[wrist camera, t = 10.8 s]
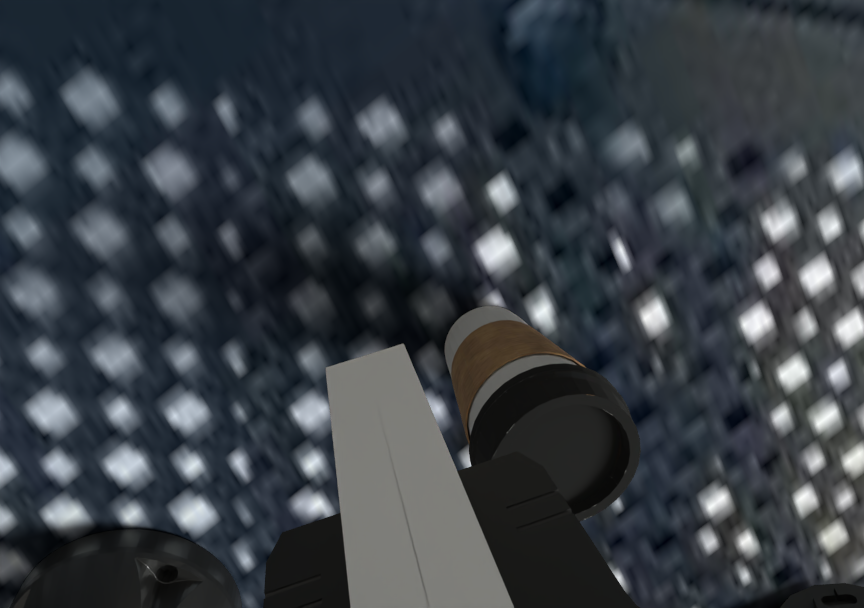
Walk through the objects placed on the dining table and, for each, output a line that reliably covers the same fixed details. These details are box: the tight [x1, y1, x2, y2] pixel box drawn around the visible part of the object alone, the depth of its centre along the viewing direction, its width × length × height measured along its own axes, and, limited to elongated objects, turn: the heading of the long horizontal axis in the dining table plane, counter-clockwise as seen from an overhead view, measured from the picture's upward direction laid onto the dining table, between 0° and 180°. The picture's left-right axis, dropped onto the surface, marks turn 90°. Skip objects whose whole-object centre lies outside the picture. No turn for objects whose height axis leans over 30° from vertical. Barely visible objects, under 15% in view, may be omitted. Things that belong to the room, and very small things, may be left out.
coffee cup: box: [444, 306, 641, 522], centre depth 38 cm, size 8×8×15 cm
